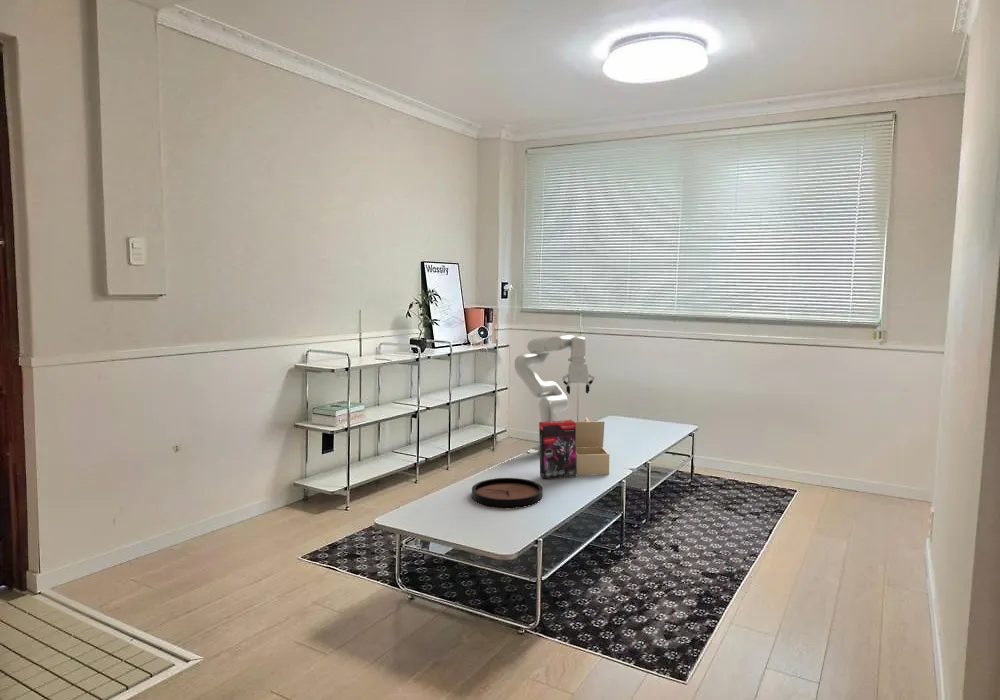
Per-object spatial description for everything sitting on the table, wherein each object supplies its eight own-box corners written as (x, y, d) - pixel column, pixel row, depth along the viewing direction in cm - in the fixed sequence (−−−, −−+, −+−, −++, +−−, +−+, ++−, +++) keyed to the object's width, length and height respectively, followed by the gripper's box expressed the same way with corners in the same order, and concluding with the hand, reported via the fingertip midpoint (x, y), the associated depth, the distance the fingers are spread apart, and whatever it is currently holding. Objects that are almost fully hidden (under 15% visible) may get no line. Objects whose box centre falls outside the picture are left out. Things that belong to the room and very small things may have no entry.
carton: (577, 475, 331) (577, 455, 330) (571, 467, 345) (571, 447, 344) (609, 474, 333) (609, 454, 331) (602, 466, 346) (602, 447, 345)
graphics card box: (543, 480, 323) (543, 424, 320) (538, 476, 329) (538, 421, 326) (576, 477, 327) (577, 422, 324) (571, 473, 334) (571, 419, 331)
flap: (572, 422, 340) (570, 418, 345) (571, 447, 344) (569, 443, 349) (604, 421, 341) (602, 417, 347) (603, 446, 345) (600, 442, 351)
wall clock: (557, 488, 300) (507, 505, 278) (557, 496, 300) (507, 514, 278) (507, 473, 322) (457, 488, 300) (507, 481, 322) (457, 497, 301)
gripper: (562, 361, 345) (562, 394, 347) (596, 361, 346) (595, 394, 348) (560, 359, 352) (560, 392, 354) (592, 359, 354) (592, 391, 356)
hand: (577, 393), depth 351 cm, fingers open, 9 cm apart
